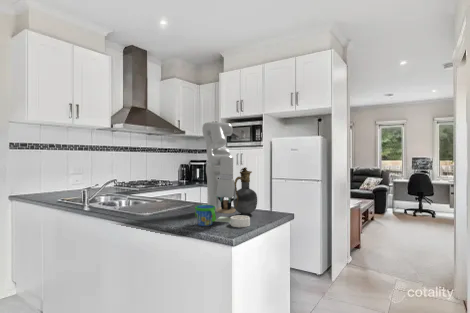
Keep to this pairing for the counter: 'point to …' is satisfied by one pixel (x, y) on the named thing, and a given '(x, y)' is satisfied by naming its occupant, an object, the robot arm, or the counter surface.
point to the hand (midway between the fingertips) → (226, 208)
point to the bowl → (240, 221)
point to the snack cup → (205, 214)
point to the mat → (223, 219)
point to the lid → (225, 208)
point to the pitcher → (245, 195)
